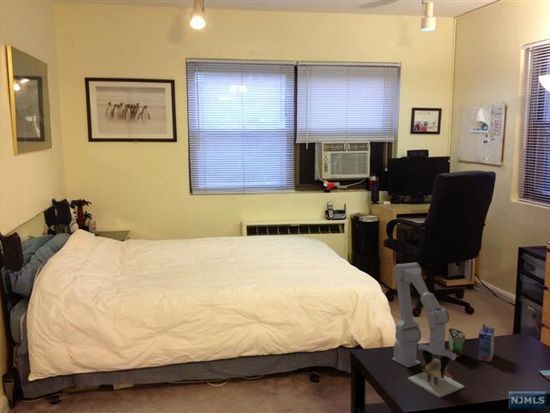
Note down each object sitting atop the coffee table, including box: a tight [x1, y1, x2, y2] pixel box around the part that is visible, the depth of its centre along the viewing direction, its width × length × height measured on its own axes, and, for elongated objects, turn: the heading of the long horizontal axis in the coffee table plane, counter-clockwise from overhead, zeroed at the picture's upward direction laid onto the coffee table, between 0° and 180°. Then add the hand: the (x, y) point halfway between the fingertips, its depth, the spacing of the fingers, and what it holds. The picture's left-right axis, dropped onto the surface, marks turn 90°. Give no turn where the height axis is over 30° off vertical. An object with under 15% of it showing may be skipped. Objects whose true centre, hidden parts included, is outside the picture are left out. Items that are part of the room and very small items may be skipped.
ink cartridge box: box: [477, 323, 495, 363], centre depth 210 cm, size 10×6×14 cm, turn 148°
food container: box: [448, 327, 466, 359], centre depth 213 cm, size 12×6×10 cm, turn 168°
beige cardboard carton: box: [424, 358, 448, 385], centre depth 187 cm, size 5×9×6 cm, turn 138°
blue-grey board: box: [407, 371, 465, 398], centre depth 188 cm, size 16×14×1 cm
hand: (435, 371), depth 187 cm, fingers closed on beige cardboard carton, 5 cm apart
